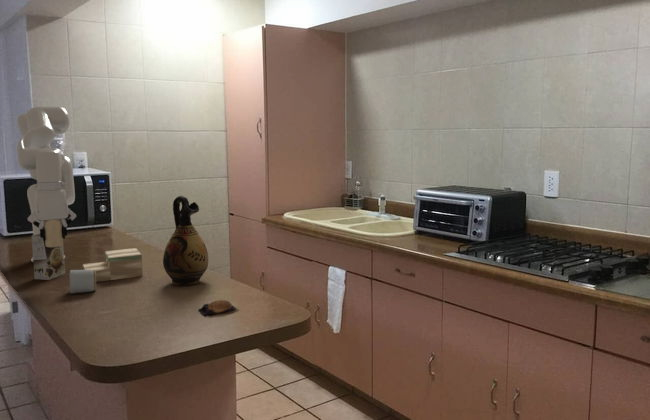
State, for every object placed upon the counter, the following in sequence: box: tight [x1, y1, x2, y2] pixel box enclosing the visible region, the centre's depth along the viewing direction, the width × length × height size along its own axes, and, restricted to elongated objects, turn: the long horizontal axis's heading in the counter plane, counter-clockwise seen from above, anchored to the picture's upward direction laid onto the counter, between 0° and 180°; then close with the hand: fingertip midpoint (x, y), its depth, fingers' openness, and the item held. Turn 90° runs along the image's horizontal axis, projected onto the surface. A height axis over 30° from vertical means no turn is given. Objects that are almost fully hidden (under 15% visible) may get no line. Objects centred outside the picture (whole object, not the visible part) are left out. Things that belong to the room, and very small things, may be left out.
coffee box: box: [31, 234, 66, 281], centre depth 207 cm, size 9×6×16 cm
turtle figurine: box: [198, 299, 239, 317], centre depth 167 cm, size 11×8×4 cm
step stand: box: [82, 247, 144, 283], centre depth 209 cm, size 13×19×8 cm
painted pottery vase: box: [162, 195, 209, 287], centre depth 197 cm, size 17×15×30 cm
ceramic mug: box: [69, 269, 97, 295], centre depth 190 cm, size 11×8×8 cm
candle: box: [44, 219, 64, 247], centre depth 195 cm, size 6×6×10 cm
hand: (54, 238), depth 196 cm, fingers closed on candle, 5 cm apart
